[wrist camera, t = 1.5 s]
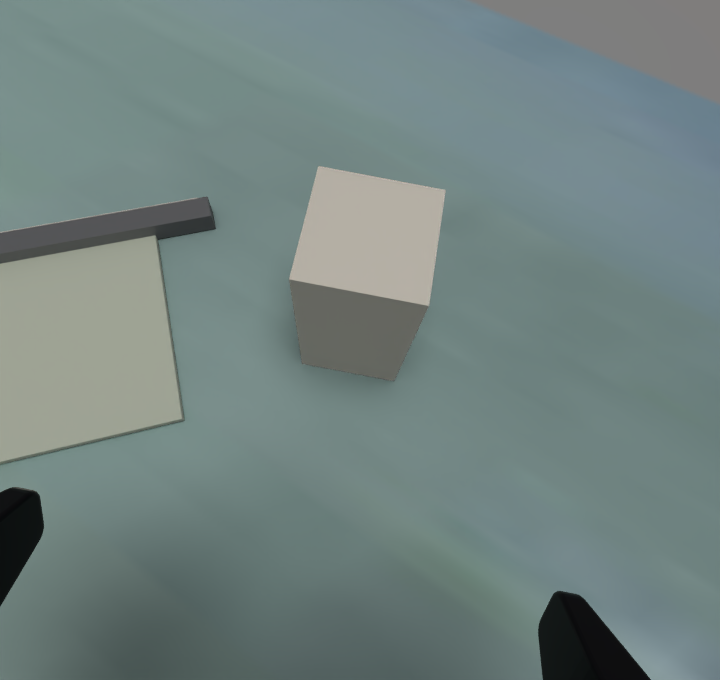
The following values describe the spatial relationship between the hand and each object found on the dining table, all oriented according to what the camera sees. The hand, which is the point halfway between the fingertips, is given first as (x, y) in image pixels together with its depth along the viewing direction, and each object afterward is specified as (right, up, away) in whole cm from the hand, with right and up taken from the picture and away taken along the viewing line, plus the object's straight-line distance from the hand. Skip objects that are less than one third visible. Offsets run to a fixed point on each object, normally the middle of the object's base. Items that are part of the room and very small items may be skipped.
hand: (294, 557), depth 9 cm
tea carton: (+1, +4, +17) cm, 17 cm away
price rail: (-14, +9, +17) cm, 24 cm away
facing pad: (-13, +3, +15) cm, 21 cm away
